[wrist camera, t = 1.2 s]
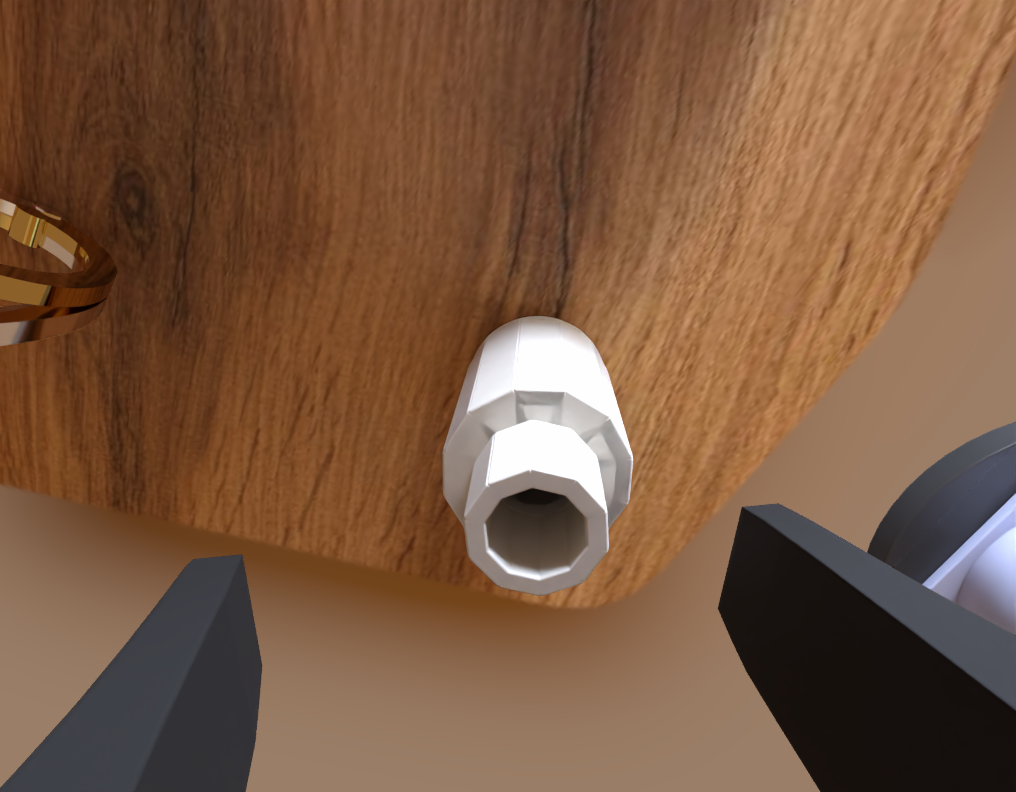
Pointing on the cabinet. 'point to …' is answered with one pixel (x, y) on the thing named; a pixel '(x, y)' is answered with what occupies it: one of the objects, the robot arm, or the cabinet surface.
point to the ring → (50, 275)
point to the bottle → (537, 457)
